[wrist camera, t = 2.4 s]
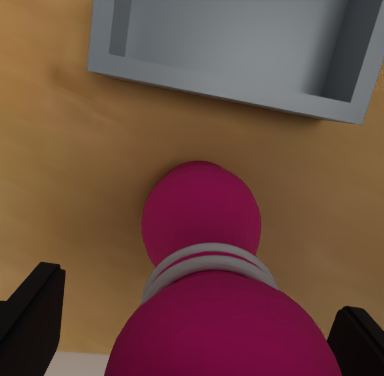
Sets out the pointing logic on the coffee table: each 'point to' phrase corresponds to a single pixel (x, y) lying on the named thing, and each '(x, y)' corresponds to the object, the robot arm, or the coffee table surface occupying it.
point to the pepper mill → (213, 290)
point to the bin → (247, 51)
